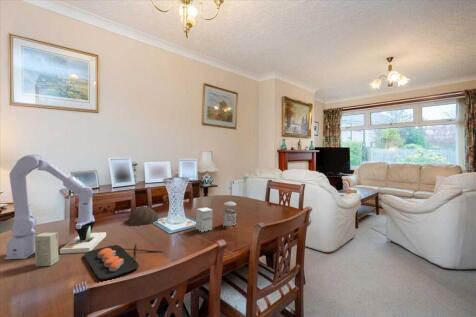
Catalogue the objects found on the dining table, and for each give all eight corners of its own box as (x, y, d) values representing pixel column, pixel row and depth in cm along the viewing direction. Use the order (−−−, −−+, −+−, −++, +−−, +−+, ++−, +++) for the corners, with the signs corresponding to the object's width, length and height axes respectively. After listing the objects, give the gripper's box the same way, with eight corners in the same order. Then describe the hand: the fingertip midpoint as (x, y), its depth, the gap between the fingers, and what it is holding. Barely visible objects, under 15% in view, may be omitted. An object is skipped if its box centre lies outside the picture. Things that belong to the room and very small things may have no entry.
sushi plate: (82, 256, 100) (82, 248, 100) (149, 239, 121) (149, 232, 121) (99, 285, 80) (99, 275, 80) (176, 259, 101) (176, 250, 101)
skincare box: (59, 261, 95) (59, 232, 95) (50, 266, 91) (50, 236, 90) (43, 260, 95) (43, 232, 94) (34, 266, 90) (34, 235, 90)
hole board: (89, 252, 104) (89, 247, 104) (59, 253, 102) (59, 248, 101) (106, 235, 123) (106, 231, 123) (81, 236, 121) (81, 232, 121)
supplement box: (201, 232, 132) (202, 211, 132) (195, 229, 138) (196, 208, 137) (212, 230, 137) (213, 209, 136) (206, 226, 143) (206, 207, 142)
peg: (87, 242, 111) (87, 228, 110) (77, 243, 110) (77, 228, 110) (92, 239, 115) (92, 225, 115) (82, 239, 114) (82, 225, 114)
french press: (239, 226, 145) (240, 187, 144) (222, 228, 140) (223, 188, 140) (234, 222, 154) (235, 185, 153) (217, 223, 150) (218, 185, 149)
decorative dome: (148, 227, 139) (148, 211, 139) (120, 224, 143) (120, 208, 143) (164, 218, 158) (164, 204, 158) (139, 216, 162) (139, 202, 162)
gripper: (87, 215, 106) (87, 243, 106) (100, 207, 120) (100, 232, 120) (70, 215, 104) (70, 244, 105) (85, 207, 119) (85, 233, 119)
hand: (85, 238), depth 112 cm, fingers closed on peg, 4 cm apart
